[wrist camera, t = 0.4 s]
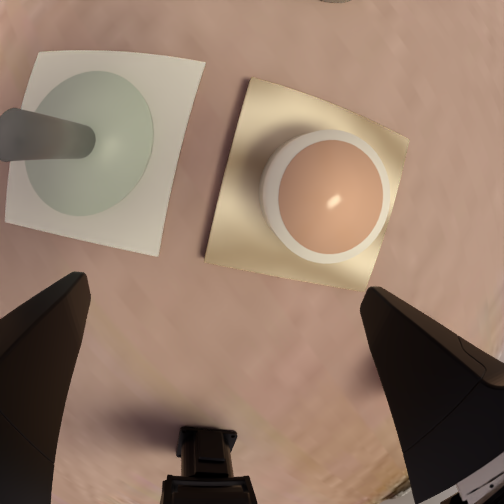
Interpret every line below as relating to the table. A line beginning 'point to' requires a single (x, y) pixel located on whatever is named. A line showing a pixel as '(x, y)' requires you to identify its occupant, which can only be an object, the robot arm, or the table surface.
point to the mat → (161, 160)
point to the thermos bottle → (336, 1)
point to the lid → (82, 142)
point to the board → (249, 174)
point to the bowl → (325, 195)
